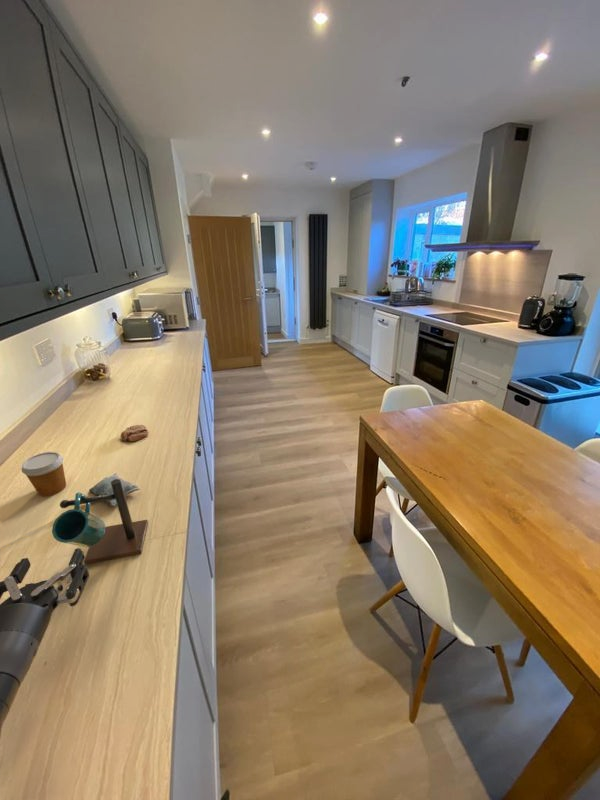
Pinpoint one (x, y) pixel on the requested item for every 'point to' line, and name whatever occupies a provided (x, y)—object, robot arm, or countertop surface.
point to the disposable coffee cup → (45, 473)
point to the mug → (78, 526)
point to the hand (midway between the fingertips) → (53, 556)
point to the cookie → (134, 433)
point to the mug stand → (115, 529)
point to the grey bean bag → (106, 488)
